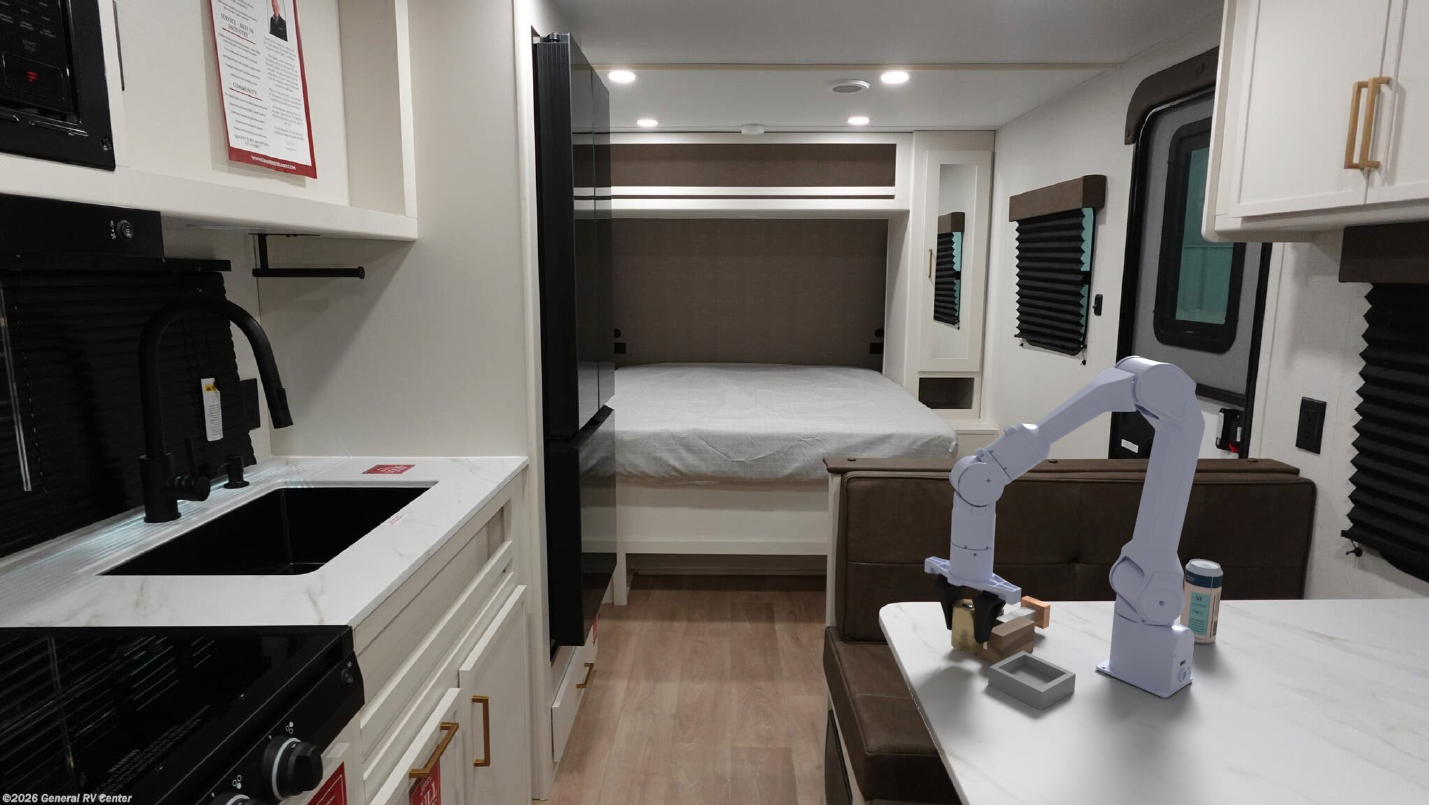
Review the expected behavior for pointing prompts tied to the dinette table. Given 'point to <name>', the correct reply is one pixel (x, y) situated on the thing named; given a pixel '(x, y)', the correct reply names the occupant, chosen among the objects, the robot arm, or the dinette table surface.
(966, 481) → the robot arm
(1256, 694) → the dinette table surface
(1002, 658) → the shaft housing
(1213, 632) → the beer can
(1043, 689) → the socket
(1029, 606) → the shaft
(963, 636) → the pepper mill
